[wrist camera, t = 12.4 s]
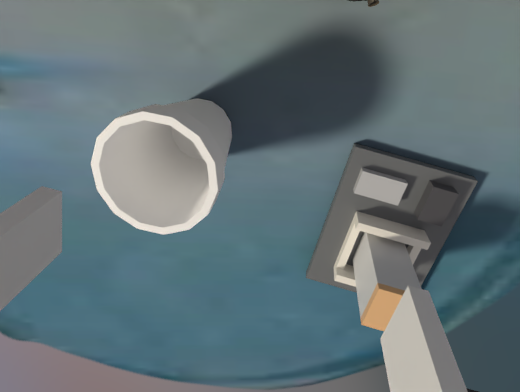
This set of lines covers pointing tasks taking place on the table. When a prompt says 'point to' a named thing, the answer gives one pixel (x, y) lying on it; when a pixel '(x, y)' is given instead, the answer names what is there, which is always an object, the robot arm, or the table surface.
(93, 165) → the foam cup
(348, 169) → the board
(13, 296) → the robot arm
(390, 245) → the plug
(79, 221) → the table surface
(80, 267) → the table surface
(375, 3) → the mate gourd
